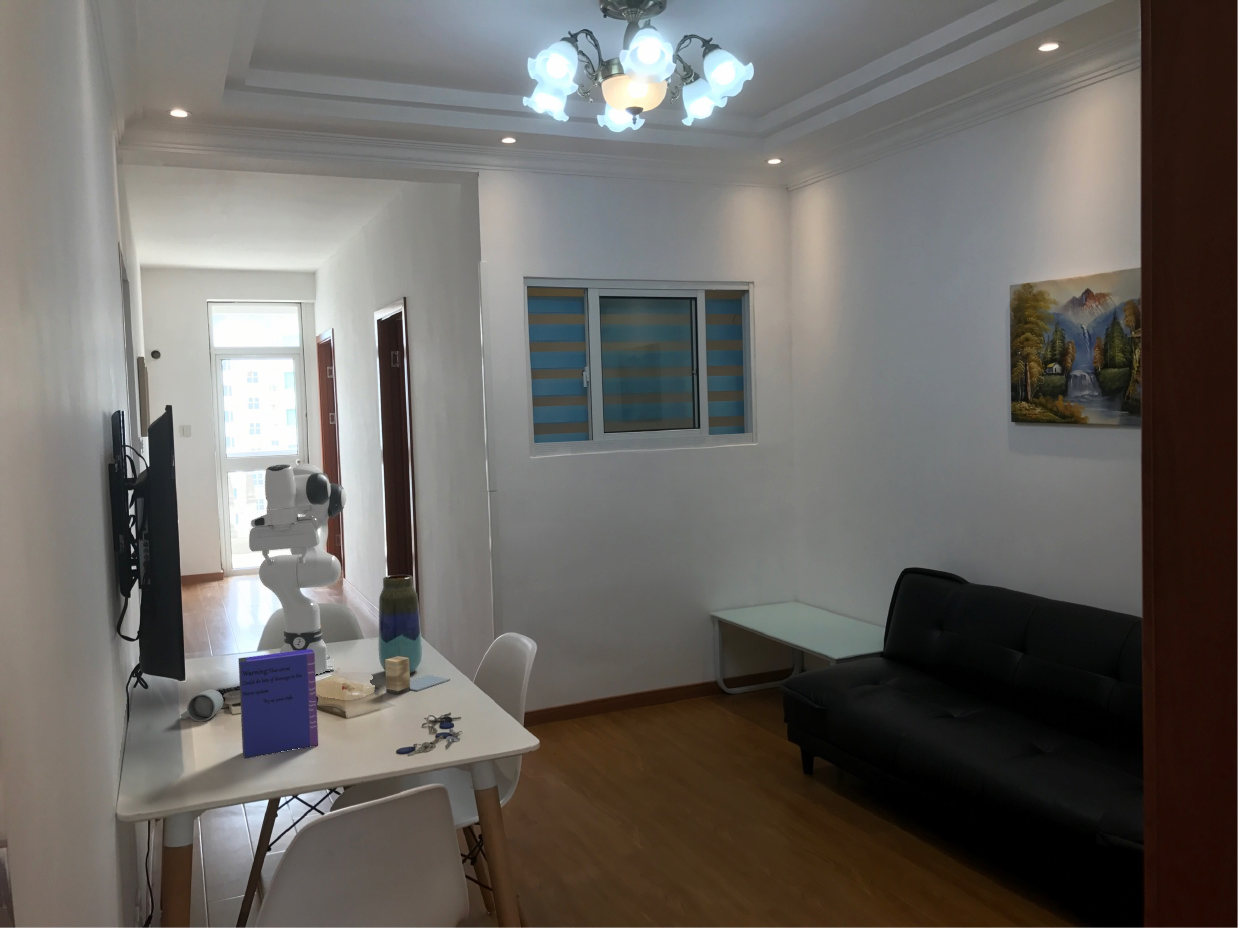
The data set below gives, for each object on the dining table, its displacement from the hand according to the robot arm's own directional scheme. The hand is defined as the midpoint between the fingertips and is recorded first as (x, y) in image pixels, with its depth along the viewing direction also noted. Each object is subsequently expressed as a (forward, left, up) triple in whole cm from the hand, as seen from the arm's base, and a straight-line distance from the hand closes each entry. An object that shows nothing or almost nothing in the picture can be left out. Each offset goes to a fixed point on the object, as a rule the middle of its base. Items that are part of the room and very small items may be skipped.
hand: (286, 564), depth 288 cm
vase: (-19, +30, -40) cm, 53 cm away
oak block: (+4, +32, -40) cm, 51 cm away
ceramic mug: (+20, -20, -40) cm, 49 cm away
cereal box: (+51, +9, -40) cm, 66 cm away
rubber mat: (-3, +39, -40) cm, 55 cm away
